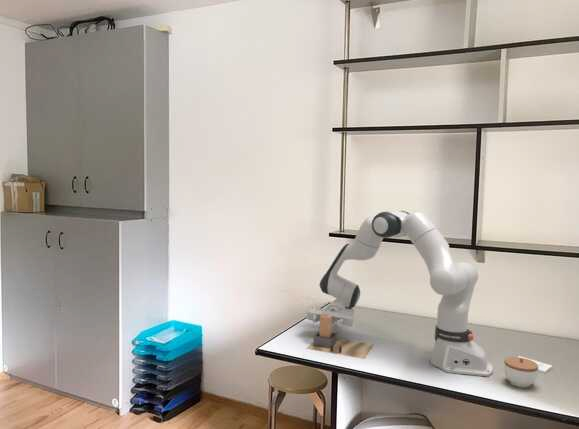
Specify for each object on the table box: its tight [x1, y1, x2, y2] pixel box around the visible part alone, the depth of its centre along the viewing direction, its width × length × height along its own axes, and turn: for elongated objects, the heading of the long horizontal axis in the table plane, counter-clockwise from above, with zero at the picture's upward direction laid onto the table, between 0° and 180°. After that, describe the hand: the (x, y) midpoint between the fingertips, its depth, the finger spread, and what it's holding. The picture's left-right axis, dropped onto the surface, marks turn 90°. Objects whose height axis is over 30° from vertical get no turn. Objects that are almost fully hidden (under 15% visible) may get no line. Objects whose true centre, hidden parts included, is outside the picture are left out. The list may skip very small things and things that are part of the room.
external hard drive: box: [518, 355, 554, 374], centre depth 187 cm, size 2×8×12 cm
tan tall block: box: [318, 310, 333, 338], centre depth 200 cm, size 4×4×14 cm
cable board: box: [305, 338, 375, 360], centre depth 199 cm, size 24×17×3 cm
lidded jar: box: [503, 356, 538, 389], centre depth 170 cm, size 11×11×9 cm
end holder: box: [312, 331, 338, 349], centre depth 200 cm, size 8×8×4 cm
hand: (325, 322), depth 199 cm, fingers open, 8 cm apart
